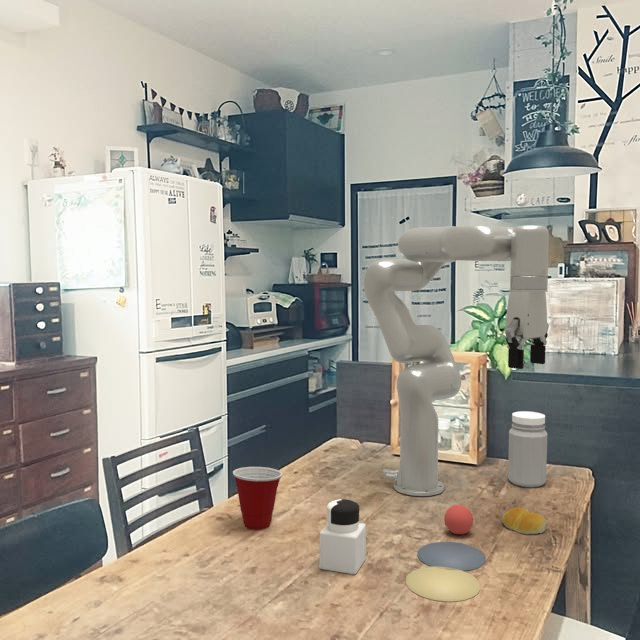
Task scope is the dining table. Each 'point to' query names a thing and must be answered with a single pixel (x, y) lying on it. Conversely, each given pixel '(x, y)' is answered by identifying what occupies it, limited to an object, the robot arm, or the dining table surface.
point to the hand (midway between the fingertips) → (526, 365)
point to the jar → (527, 449)
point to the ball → (458, 519)
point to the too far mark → (443, 584)
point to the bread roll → (524, 521)
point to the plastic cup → (257, 495)
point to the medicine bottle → (342, 538)
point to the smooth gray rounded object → (451, 556)
